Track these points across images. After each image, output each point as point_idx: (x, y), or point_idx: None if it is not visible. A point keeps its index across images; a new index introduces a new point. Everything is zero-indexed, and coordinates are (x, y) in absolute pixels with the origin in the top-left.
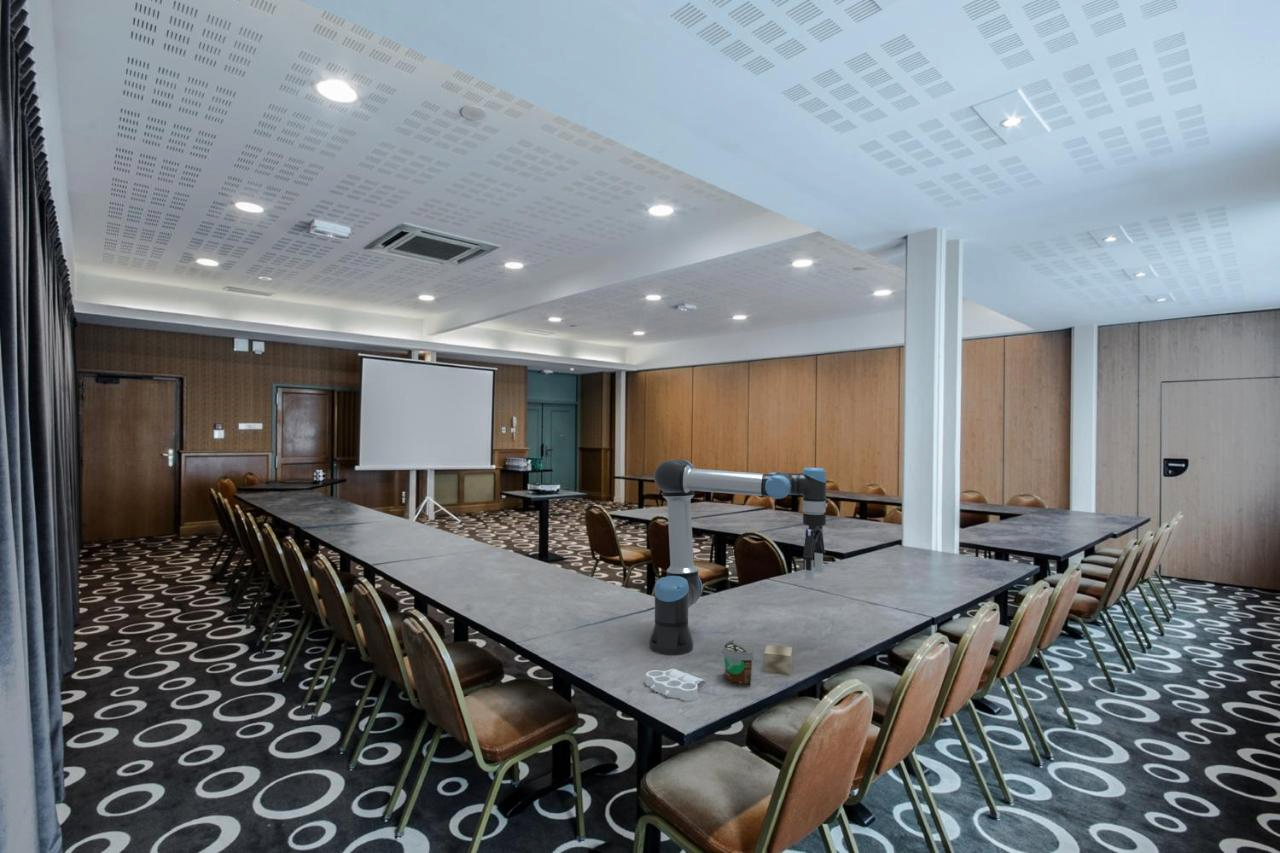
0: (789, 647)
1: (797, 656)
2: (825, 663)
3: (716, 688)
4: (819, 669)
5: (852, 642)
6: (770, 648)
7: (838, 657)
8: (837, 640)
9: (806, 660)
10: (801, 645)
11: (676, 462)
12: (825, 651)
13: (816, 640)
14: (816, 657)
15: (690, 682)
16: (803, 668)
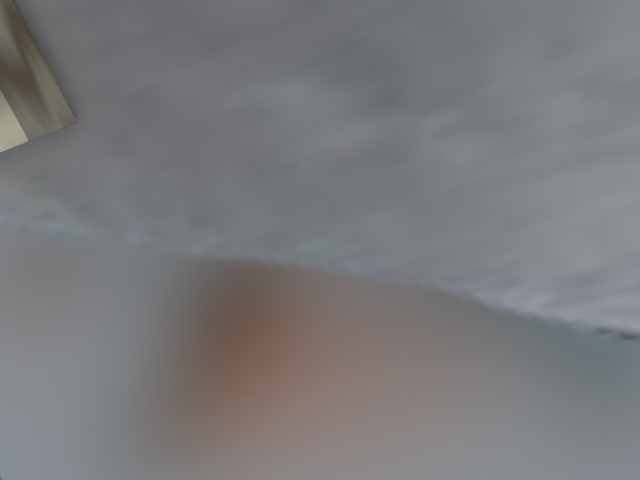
0: (16, 126)
1: (216, 87)
2: (222, 235)
3: None
4: (132, 240)
5: (612, 239)
6: None
7: (340, 256)
8: (607, 166)
9: (195, 149)
10: (402, 29)
11: None
12: (386, 177)
13: (544, 67)
14: (270, 173)
15: None
16: (87, 179)
